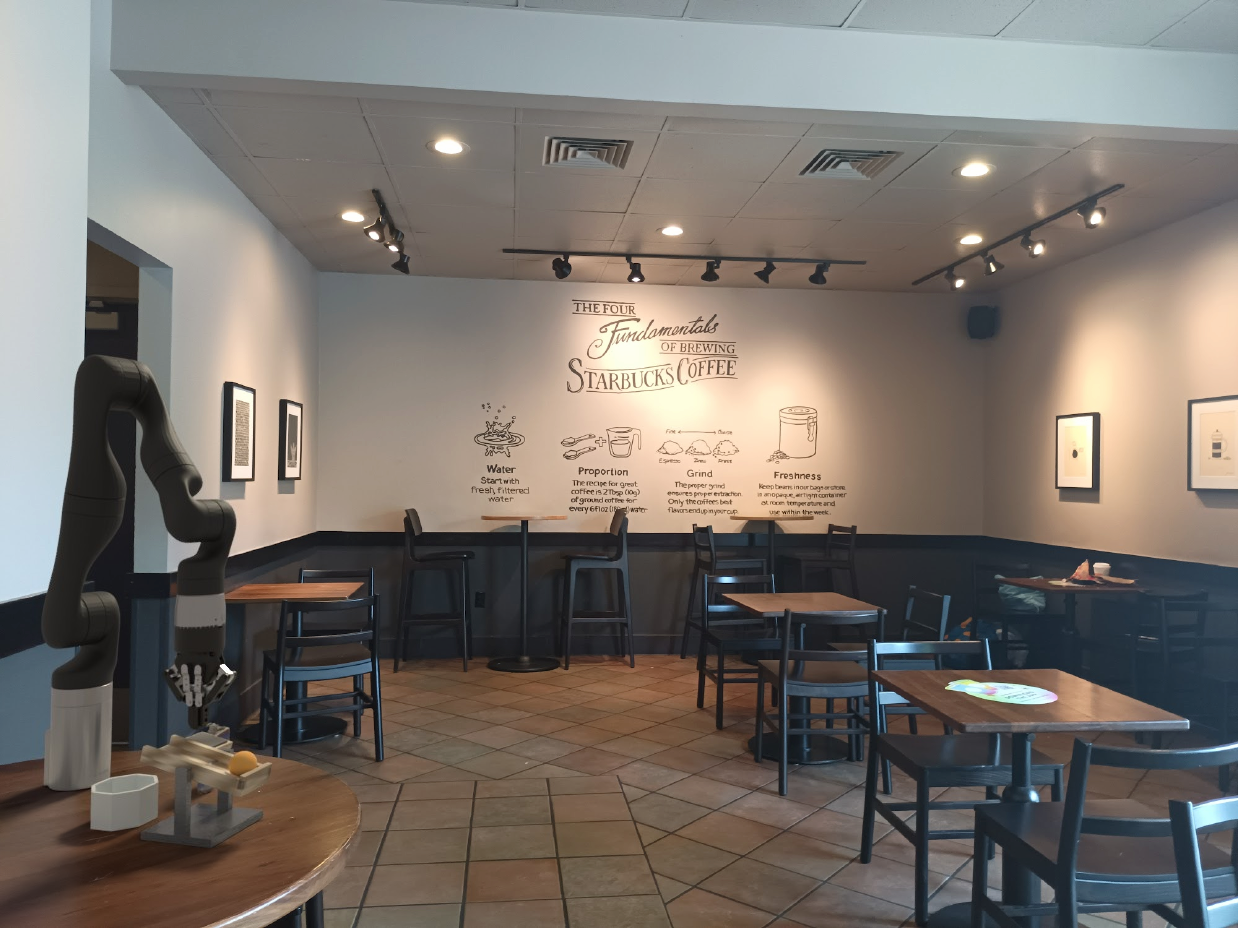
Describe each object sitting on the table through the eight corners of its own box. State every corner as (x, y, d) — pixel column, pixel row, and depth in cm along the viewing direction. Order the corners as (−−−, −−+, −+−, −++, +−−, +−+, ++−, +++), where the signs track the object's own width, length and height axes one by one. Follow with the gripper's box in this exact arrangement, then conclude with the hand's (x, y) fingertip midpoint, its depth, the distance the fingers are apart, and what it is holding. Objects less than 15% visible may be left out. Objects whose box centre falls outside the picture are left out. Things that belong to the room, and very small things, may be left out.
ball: (220, 777, 129) (225, 752, 129) (237, 769, 133) (242, 744, 133) (243, 785, 128) (248, 759, 128) (259, 777, 132) (265, 751, 132)
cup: (76, 827, 132) (77, 790, 132) (122, 805, 141) (123, 772, 141) (125, 832, 130) (126, 796, 130) (170, 811, 139) (170, 776, 139)
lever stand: (140, 839, 127) (142, 767, 128) (197, 810, 139) (199, 744, 139) (210, 847, 125) (212, 774, 125) (263, 817, 136) (264, 749, 137)
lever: (137, 763, 131) (141, 743, 130) (200, 737, 144) (204, 719, 144) (238, 798, 126) (242, 778, 126) (293, 769, 140) (297, 750, 140)
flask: (209, 793, 147) (210, 730, 147) (191, 794, 146) (192, 730, 147) (231, 776, 156) (232, 716, 156) (215, 776, 156) (216, 716, 156)
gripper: (148, 623, 138) (146, 732, 138) (219, 626, 135) (218, 737, 135) (182, 616, 146) (180, 719, 145) (250, 619, 143) (248, 724, 142)
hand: (198, 728), depth 140 cm, fingers closed
